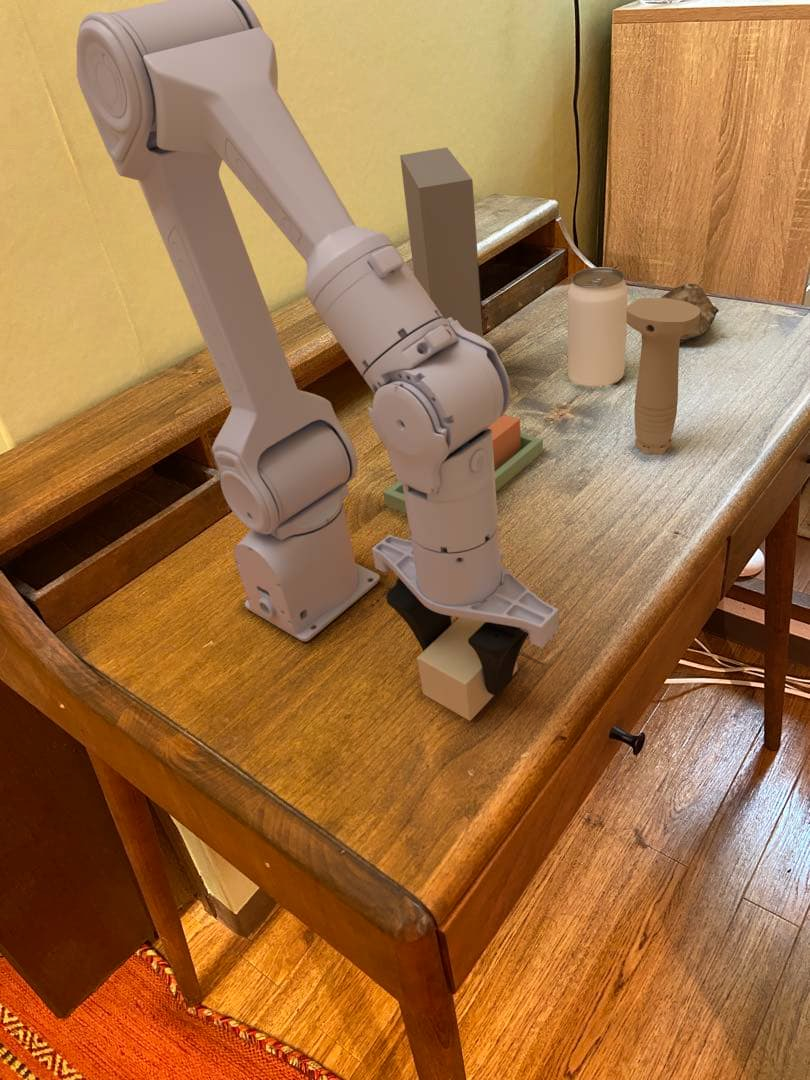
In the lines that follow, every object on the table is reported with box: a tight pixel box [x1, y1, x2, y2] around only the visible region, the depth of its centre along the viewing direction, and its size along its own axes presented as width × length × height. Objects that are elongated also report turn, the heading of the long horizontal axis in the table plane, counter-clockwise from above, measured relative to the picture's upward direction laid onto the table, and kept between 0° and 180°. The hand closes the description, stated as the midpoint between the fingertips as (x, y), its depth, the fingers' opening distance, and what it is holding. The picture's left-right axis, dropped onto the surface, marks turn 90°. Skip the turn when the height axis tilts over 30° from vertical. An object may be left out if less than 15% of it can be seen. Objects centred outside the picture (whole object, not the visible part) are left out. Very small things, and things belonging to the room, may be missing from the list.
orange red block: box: [488, 414, 521, 471], centre depth 83 cm, size 6×4×4 cm
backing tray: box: [382, 431, 544, 515], centre depth 82 cm, size 16×8×2 cm, turn 139°
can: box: [567, 266, 629, 387], centre depth 93 cm, size 6×6×12 cm
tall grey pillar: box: [399, 147, 484, 339], centre depth 91 cm, size 14×6×25 cm, turn 8°
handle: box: [626, 297, 701, 456], centre depth 78 cm, size 5×6×15 cm
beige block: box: [416, 617, 519, 722], centre depth 61 cm, size 6×4×4 cm
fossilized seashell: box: [660, 283, 720, 343], centre depth 101 cm, size 8×7×10 cm
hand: (469, 669), depth 61 cm, fingers open, 5 cm apart
